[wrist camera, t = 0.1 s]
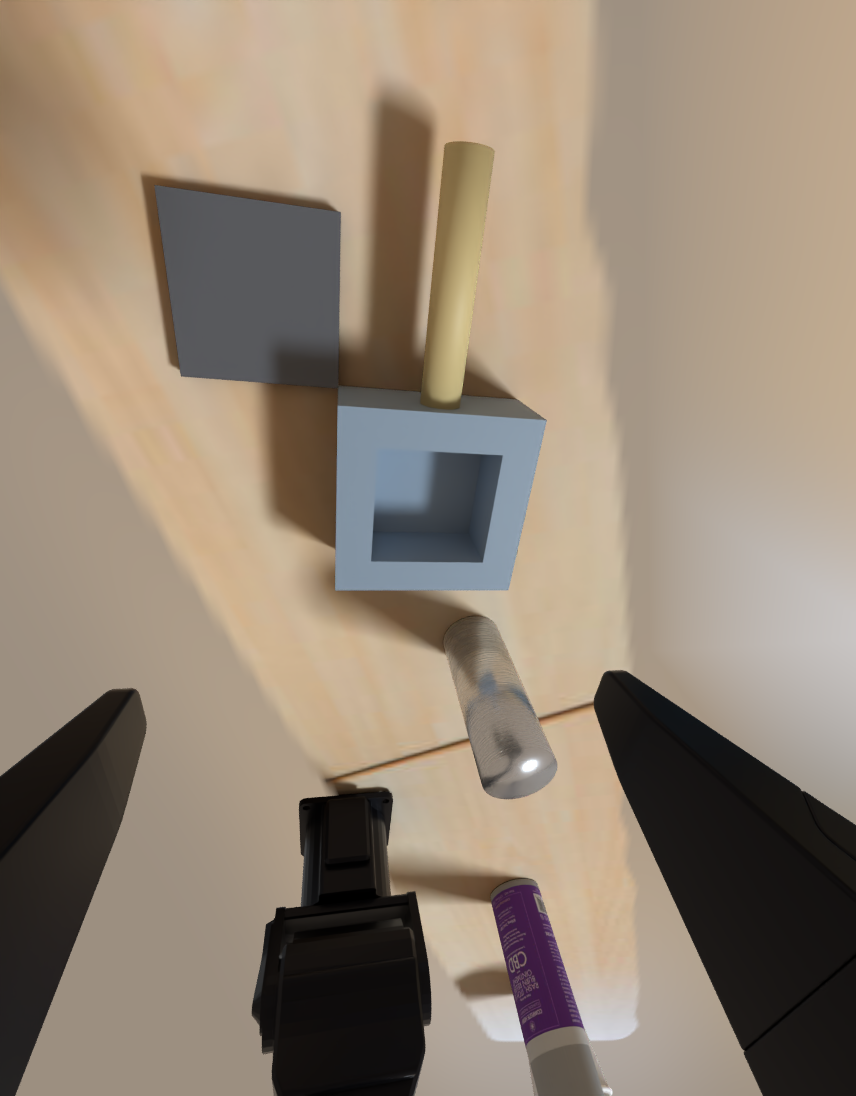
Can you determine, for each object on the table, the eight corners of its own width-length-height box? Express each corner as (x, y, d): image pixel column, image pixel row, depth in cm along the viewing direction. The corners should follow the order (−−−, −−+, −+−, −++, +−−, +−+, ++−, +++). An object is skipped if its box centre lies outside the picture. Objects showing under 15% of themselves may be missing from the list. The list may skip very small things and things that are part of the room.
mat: (338, 385, 20) (338, 388, 20) (185, 373, 19) (180, 376, 18) (340, 214, 17) (340, 212, 17) (160, 188, 16) (154, 184, 16)
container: (498, 879, 43) (564, 1134, 30) (544, 877, 44) (627, 1121, 32) (484, 906, 45) (540, 1155, 33) (528, 903, 47) (600, 1142, 34)
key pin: (493, 659, 30) (547, 795, 22) (440, 661, 29) (476, 802, 21) (503, 615, 28) (565, 746, 20) (447, 616, 27) (488, 751, 20)
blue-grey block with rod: (488, 551, 25) (508, 590, 22) (336, 549, 24) (335, 590, 21) (559, 180, 18) (605, 161, 15) (341, 143, 16) (341, 112, 13)
